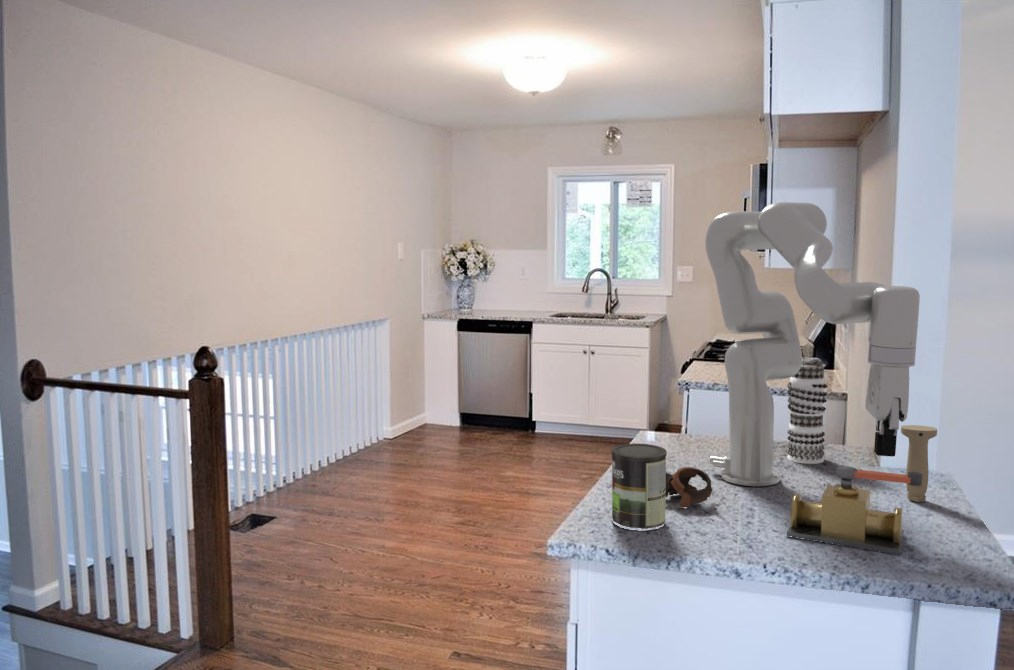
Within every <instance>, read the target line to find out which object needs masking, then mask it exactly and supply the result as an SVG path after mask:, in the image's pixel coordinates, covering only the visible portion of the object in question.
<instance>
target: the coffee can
mask: <svg viewBox="0 0 1014 670" xmlns="http://www.w3.org/2000/svg"><path fill="white" fill-rule="evenodd" d="M610 451H611V455H612V456H611V475H612V478H611V479H612V480H611V487H612V488H611V489H612V490H611V491H612V493H611V496H612V497H611V498H612V499H611V500H612V501H611V505H612V506H611V509H612V510H611V511H612V513H611V520H612V519H613V521H614V522H616V523H618V524H620V525H622V526H626V527H630V528H641V529H648V528H656V527H659V526H662V525H663V524H664V523H665V521H666V502H667V501H666V498H667V497H666V472H667V465H666V464H667V453H668V452H667V450H666V448H664V447H662V446H658V445H656V444H655V445H654V444H650V443H649V444H647V443H624V444H619V445H616V446H613V447H612V448H611V450H610Z"/></svg>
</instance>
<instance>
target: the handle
mask: <svg viewBox="0 0 1014 670" xmlns="http://www.w3.org/2000/svg"><path fill="white" fill-rule="evenodd" d="M900 433H901V435H903V436H905V437H907V438H908V448H907V449H908V451H907V461H906V472H905V475H908V472H918V473H921V474H922V485H921V486H913V485H909V484H907V483H905V484H906V485H905V486H906V491H907V493H906V495H907V496H906V497H907V499H908V501H910V502H914V503H925V502H926V498H927V496H926V494H927V491H928V485H929V456H928V455H929V447H928V446H929V440H930V439H933V438H935V437H937V436H938V429H937V428H936V427H935V426H926V425H915V424H914V425H912V424H909V425H908V424H906V425H901V426H900Z"/></svg>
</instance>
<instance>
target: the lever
mask: <svg viewBox="0 0 1014 670" xmlns="http://www.w3.org/2000/svg"><path fill="white" fill-rule="evenodd" d="M836 476H837V477H838V478H840V479H841V478H844V479H852V480H854V479H863V480H864V479H866V480H874V481H883V482H889V483H890V482H893V483H901V484H906V483H907V484H909V485H913V486H921V485H922V474H921V473H918V472H908V475H906V474H901V473H893V472H885V471H884V472H882V471H873V470H866V469H865V470H864V469H857V468H856V467H855V466H854V467H853V466H846V465H841V466H840V465H839V466H837V467H836Z"/></svg>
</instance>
